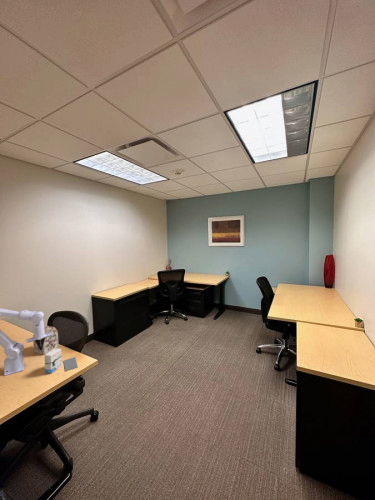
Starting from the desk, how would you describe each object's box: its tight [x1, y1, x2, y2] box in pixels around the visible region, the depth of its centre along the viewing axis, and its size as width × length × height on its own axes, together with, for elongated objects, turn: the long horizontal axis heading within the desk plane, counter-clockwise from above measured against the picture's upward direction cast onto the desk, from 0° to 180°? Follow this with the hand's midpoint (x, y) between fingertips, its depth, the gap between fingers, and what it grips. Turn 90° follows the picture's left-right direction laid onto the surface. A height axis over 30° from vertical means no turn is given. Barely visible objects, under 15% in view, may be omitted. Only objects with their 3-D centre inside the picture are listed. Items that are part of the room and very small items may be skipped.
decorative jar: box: [32, 325, 59, 356], centre depth 155 cm, size 12×12×18 cm
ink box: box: [44, 348, 63, 374], centre depth 131 cm, size 8×5×12 cm, turn 168°
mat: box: [63, 356, 79, 372], centre depth 137 cm, size 7×14×1 cm, turn 35°
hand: (41, 349), depth 136 cm, fingers closed
